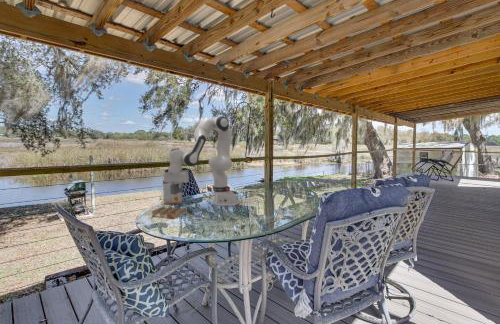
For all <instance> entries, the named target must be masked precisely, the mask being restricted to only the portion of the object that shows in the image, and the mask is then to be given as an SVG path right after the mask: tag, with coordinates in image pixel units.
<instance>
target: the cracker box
mask: <svg viewBox="0 0 500 324" xmlns="http://www.w3.org/2000/svg"><path fill="white" fill-rule="evenodd" d="M175 183H179V182H174V184H175ZM170 185H172V184H171V182H165V181H164V179H163V180H162V186H163V187H162V191H163V204H164V205H180V204H182V203H183V194H182V193H183V192H180V193H177V194H171V191H170Z"/></svg>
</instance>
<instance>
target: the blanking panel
mask: <svg viewBox="0 0 500 324" xmlns="http://www.w3.org/2000/svg"><path fill="white" fill-rule="evenodd" d="M183 184H184V183H182V184H181V188H178V186H179V183H175V184H172V185H170V191H171V194H177V193H180V192H182V193H183V192H184V189H183V187H184V185H183Z"/></svg>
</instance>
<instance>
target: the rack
mask: <svg viewBox="0 0 500 324" xmlns="http://www.w3.org/2000/svg"><path fill="white" fill-rule="evenodd" d="M187 213H188V211H187V207H182V208H180V207H179V206H177V207H175V208H173V206H169V207H167V208H166V206H165V205H163V206H160V207H159V208H156V209H154V210H152V212H151V214H152V215H151V218H159V219H162V218H164V219H168V220H173V219H177V218H179V217H180V216H183V215H185V214H187Z"/></svg>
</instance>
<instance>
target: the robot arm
mask: <svg viewBox="0 0 500 324" xmlns="http://www.w3.org/2000/svg"><path fill="white" fill-rule="evenodd" d="M211 131H217V133H218V137H217V142H216V147H215V148H216V151H217V156H212V157H210V158H209V160H208V166H209V167H210V169H211V172H212V176H213V193H214V194H213V202H212V204H213V205H215V206H219V207H220V206H223V207H224V206H225V207H228V206H229V207H231V206H237V205H239V204H240V200H238V197H237V195H236V194H235V193H234V192H232V191H231V186H228V176H227V174H226V172H225V171H229V170H230V169H231V168H232V167H233V161H232V159H231V156H230V155H231V154H230V151H231V150H230V149H231V145H232V144H231V143H232V134H233V132H232V129H231V128H230V121H229V119H228V118H227V117H226V116H223V115H221V116H215V117H212V118H210V117H204V118H202V120H201V121H200V122H199V123H198V125H197V126H196V128H195V130H194V133H193V136H194V139H195V144H194V146H193V147H192V149H191V151H189V152H188V151H185V150H183V149H181V148H179V147H178V148H177V147H176V148H173V149H170V151H169V158H168V159H169V167H168V168H166V169H164V170H163V180H164V181H165V182H171V184H174V182H179V186H178V188H181V184H182V183H183V184H184V183H186V184H187V183H189V182H190V177H189V171H188V170H186V169H185V170H183V165H184V166H185V165H186V166H188V167H195V166H196V165H198V162H199V157H200V155H201V152H202V150H203V148H204V145H205V144H206V140H207V138H208V137H209V135H210V134H211Z"/></svg>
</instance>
